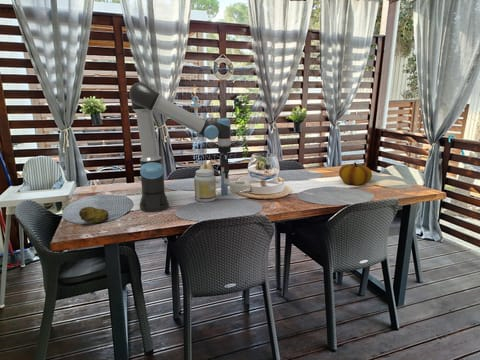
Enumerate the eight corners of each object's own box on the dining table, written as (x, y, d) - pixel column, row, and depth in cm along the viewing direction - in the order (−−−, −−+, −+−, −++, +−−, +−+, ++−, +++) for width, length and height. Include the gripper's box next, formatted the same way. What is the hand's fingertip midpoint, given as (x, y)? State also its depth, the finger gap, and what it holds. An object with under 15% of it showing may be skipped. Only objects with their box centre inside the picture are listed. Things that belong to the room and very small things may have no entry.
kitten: (204, 179, 231) (204, 159, 227) (217, 181, 228) (217, 160, 224) (195, 185, 217) (194, 163, 213) (209, 186, 214) (208, 164, 210)
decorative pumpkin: (367, 189, 212) (370, 166, 208) (334, 184, 223) (335, 162, 219) (373, 182, 229) (376, 161, 225) (341, 177, 240) (343, 157, 236)
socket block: (251, 192, 204) (251, 185, 203) (232, 192, 202) (232, 185, 201) (247, 186, 215) (247, 180, 214) (229, 187, 213) (229, 180, 212)
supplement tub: (220, 198, 191) (219, 170, 187) (206, 204, 182) (206, 174, 177) (204, 194, 198) (203, 167, 193) (190, 199, 188) (189, 171, 184)
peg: (228, 195, 197) (228, 173, 193) (221, 195, 196) (221, 173, 192) (227, 193, 200) (227, 171, 197) (220, 193, 200) (220, 171, 196)
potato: (111, 222, 155) (109, 206, 153) (81, 227, 149) (79, 211, 147) (108, 216, 162) (106, 201, 160) (79, 221, 156) (77, 205, 154)
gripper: (233, 148, 179) (234, 185, 185) (228, 142, 203) (228, 175, 208) (220, 149, 178) (220, 186, 184) (216, 142, 202) (216, 175, 207)
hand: (225, 180), depth 196 cm, fingers open, 13 cm apart
